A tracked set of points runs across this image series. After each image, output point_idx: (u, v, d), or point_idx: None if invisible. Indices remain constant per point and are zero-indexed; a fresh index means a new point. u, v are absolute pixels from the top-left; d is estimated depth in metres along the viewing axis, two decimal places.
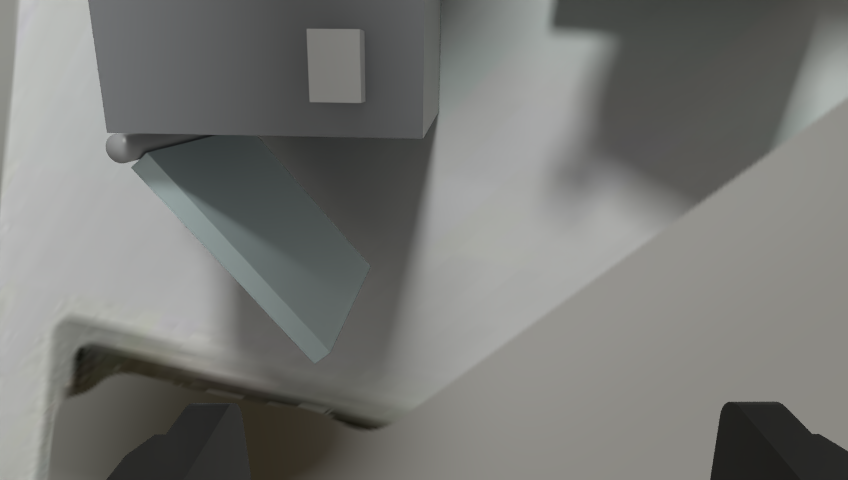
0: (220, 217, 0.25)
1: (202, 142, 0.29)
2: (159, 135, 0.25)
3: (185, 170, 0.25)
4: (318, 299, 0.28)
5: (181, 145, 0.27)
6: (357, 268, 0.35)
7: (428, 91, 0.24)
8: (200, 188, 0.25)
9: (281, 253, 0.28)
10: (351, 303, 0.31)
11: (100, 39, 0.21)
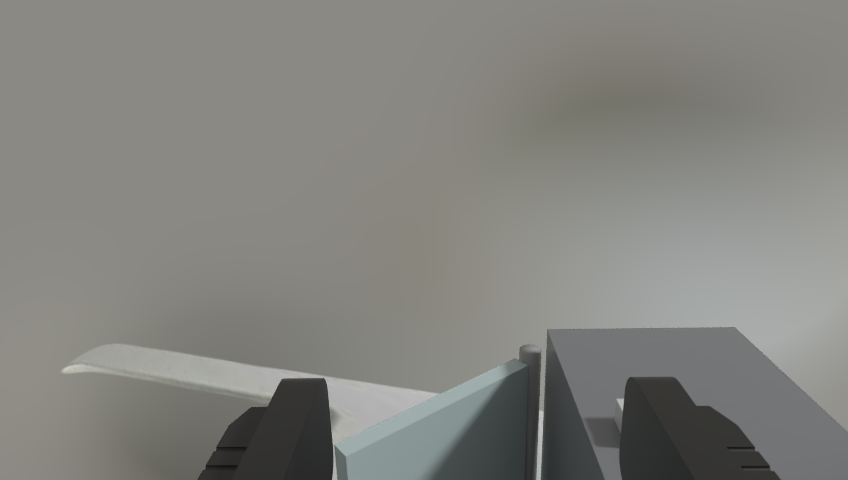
0: (477, 406, 0.29)
1: (523, 443, 0.33)
2: (536, 389, 0.32)
3: (511, 398, 0.31)
4: None
5: (526, 411, 0.32)
6: None
7: None
8: (498, 403, 0.30)
9: (432, 469, 0.28)
10: None
11: (610, 330, 0.31)
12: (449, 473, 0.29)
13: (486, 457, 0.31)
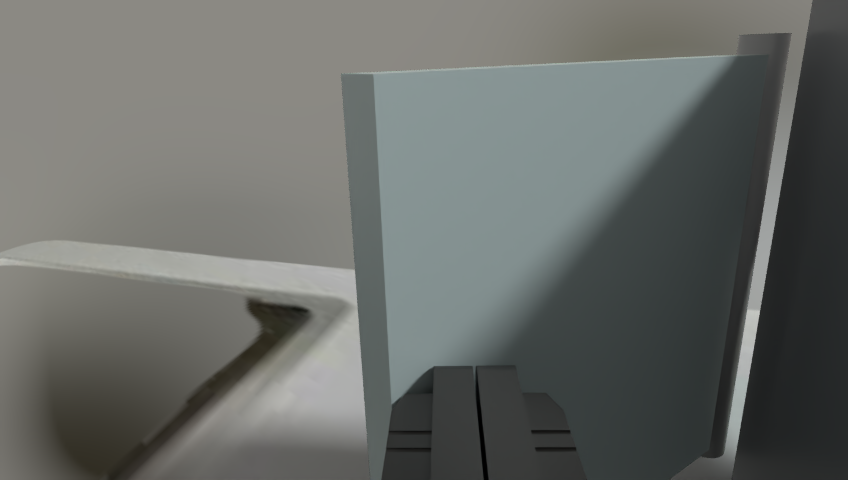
0: (677, 103, 0.13)
1: (736, 243, 0.16)
2: (772, 123, 0.15)
3: (734, 119, 0.14)
4: (473, 231, 0.10)
5: (750, 169, 0.15)
6: None
7: None
8: (713, 119, 0.14)
9: (579, 227, 0.12)
10: None
11: None
12: (611, 254, 0.12)
13: (678, 246, 0.14)
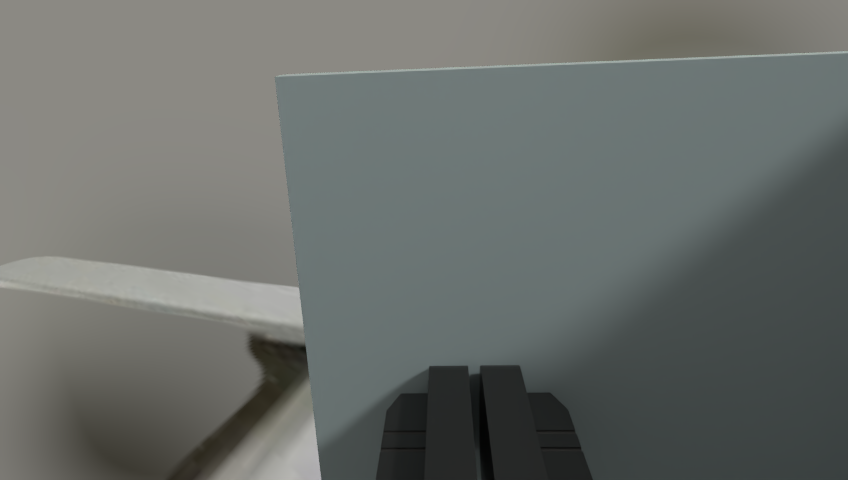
0: (762, 118, 0.09)
1: None
2: None
3: None
4: (405, 241, 0.09)
5: None
6: None
7: None
8: None
9: (572, 259, 0.10)
10: (317, 394, 0.10)
11: None
12: (631, 299, 0.10)
13: (770, 310, 0.10)
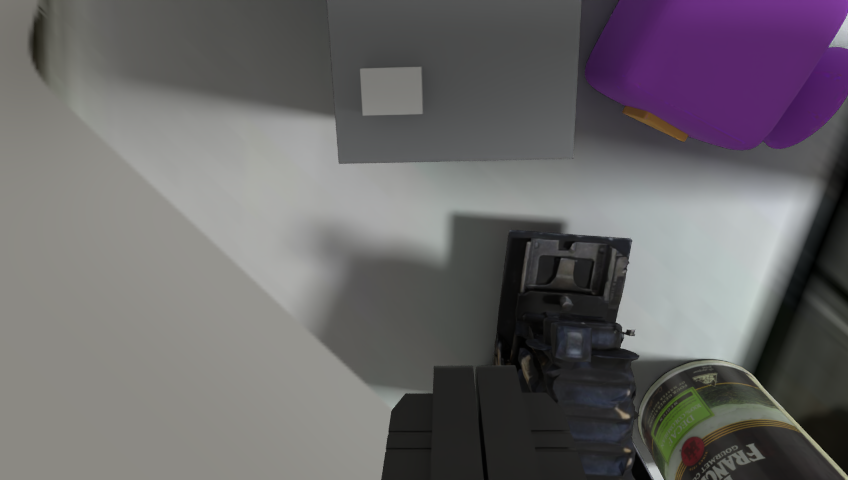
0: None
1: None
2: None
3: None
4: None
5: None
6: None
7: None
8: None
9: None
10: None
11: None
12: None
13: None
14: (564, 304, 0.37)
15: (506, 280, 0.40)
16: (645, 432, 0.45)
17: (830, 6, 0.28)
